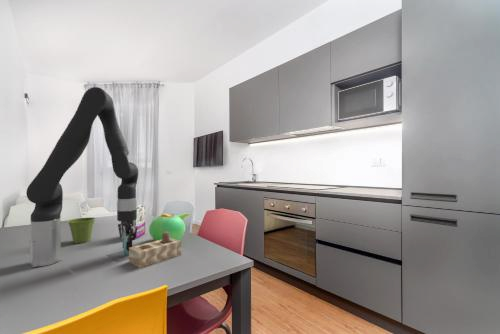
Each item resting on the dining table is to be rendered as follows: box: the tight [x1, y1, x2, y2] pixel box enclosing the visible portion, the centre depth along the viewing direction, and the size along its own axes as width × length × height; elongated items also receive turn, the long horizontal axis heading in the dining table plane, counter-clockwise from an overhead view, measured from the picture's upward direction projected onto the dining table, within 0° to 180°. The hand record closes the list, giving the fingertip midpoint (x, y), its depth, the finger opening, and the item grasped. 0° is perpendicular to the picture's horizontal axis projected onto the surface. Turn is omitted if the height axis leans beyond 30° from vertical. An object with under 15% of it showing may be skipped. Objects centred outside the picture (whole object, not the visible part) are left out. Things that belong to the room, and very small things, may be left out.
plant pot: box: [67, 217, 96, 244], centre depth 126 cm, size 12×12×11 cm
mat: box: [105, 250, 129, 263], centre depth 106 cm, size 12×12×1 cm
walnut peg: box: [162, 231, 170, 244], centre depth 105 cm, size 3×3×10 cm
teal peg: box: [122, 232, 129, 256], centre depth 105 cm, size 3×3×10 cm
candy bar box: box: [133, 204, 146, 240], centre depth 134 cm, size 11×5×16 cm, turn 179°
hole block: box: [128, 238, 182, 269], centre depth 102 cm, size 18×9×6 cm, turn 140°
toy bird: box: [148, 212, 191, 241], centre depth 125 cm, size 18×17×15 cm
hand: (127, 248), depth 105 cm, fingers closed on teal peg, 3 cm apart
